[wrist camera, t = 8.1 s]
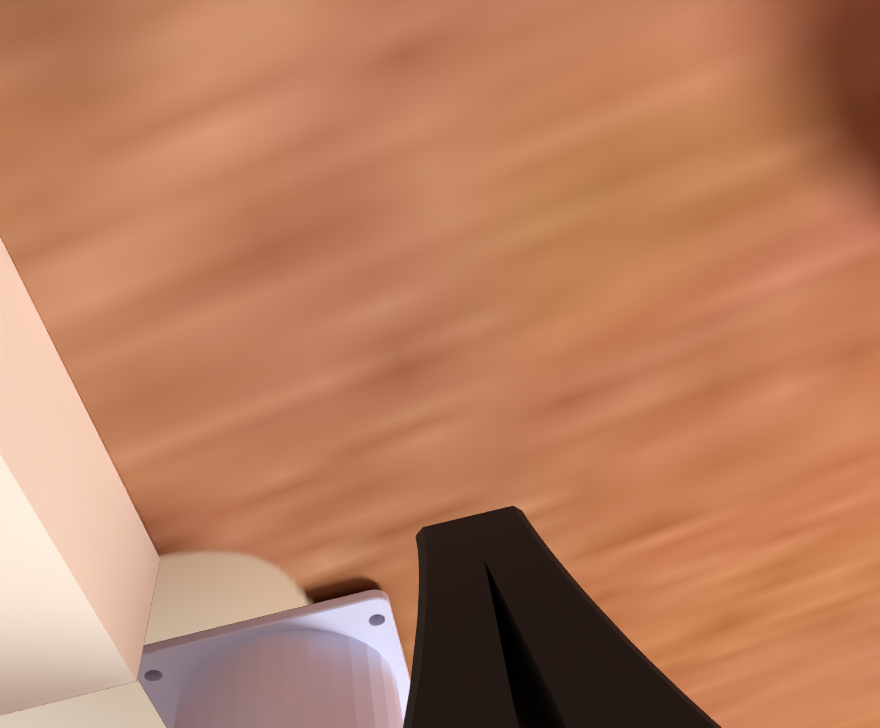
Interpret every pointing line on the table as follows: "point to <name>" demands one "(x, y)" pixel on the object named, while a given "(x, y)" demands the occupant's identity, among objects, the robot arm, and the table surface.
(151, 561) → the slot board
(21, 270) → the table surface
